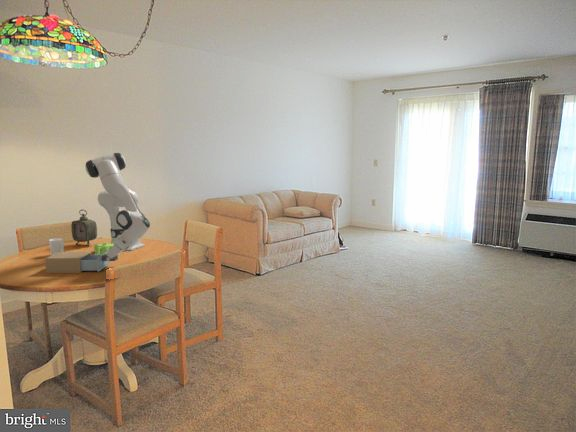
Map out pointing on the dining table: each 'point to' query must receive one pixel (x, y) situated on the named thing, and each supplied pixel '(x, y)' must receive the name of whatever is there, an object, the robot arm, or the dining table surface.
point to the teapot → (102, 248)
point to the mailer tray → (95, 262)
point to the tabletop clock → (84, 229)
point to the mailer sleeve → (65, 262)
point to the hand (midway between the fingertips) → (109, 258)
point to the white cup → (56, 245)
